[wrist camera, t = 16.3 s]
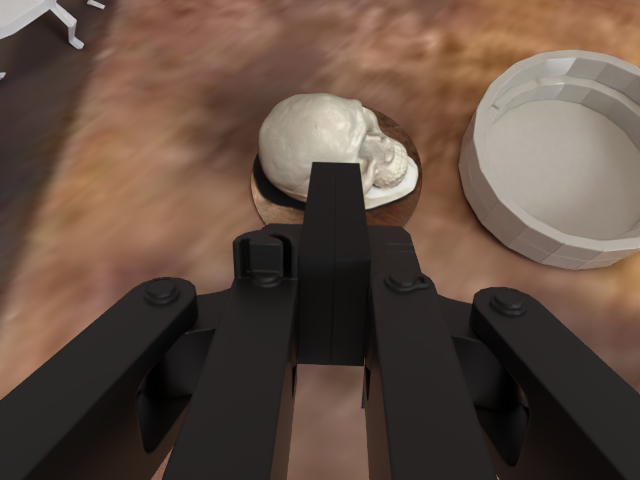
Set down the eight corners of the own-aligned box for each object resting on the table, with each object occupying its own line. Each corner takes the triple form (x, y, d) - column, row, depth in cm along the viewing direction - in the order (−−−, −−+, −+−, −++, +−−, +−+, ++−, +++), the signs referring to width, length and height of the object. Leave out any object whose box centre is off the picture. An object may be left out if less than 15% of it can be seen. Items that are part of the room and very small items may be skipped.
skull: (435, 100, 38) (451, 124, 28) (402, 229, 42) (407, 288, 32) (276, 69, 38) (239, 83, 29) (258, 199, 42) (221, 248, 33)
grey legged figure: (35, -25, 44) (1, -78, 39) (123, 3, 43) (98, -48, 38) (-48, 87, 40) (-97, 43, 35) (46, 121, 39) (8, 80, 34)
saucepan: (444, 248, 35) (461, 223, 31) (469, 75, 40) (487, 33, 36) (662, 291, 34) (710, 272, 30) (661, 108, 39) (702, 69, 35)
